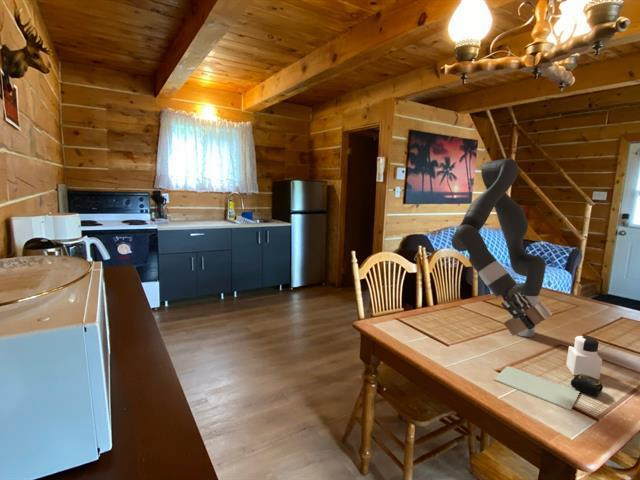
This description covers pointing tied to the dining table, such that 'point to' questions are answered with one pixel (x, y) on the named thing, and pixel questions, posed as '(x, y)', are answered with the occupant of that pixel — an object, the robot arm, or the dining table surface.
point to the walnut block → (534, 313)
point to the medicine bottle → (584, 357)
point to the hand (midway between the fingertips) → (534, 325)
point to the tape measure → (587, 384)
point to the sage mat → (538, 387)
